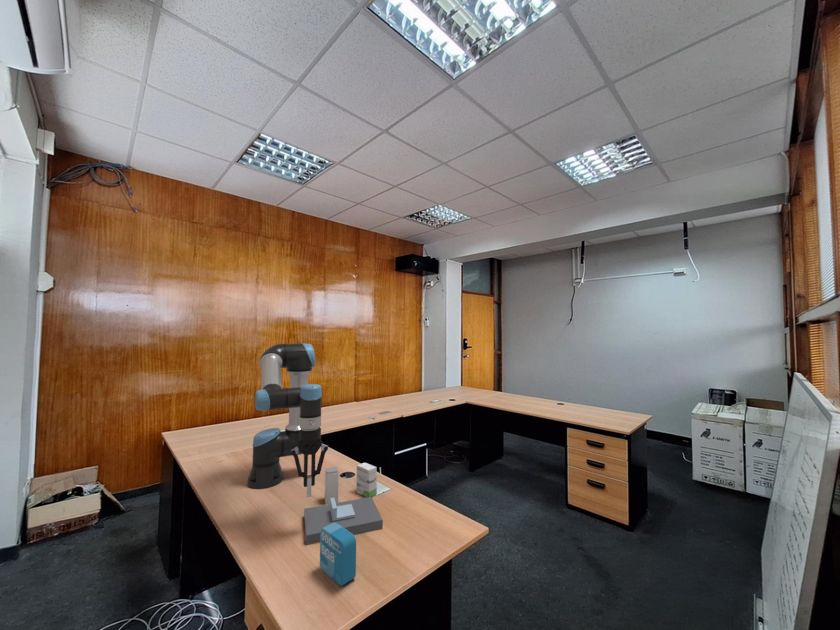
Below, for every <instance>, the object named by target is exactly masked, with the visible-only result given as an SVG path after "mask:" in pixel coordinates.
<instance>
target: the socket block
mask: <svg viewBox="0 0 840 630" xmlns="http://www.w3.org/2000/svg"><path fill="white" fill-rule="evenodd" d="M348 504H352V507H353V510H354V513H355V517H351V518H346V519H341V520H336V521H332V517H331V512H330V504H322V505H319V506H318V505H317V506H312V507H305V508H304V513H303V514H304V515H303V519H304V536H305V545H306V546H308V545H312V544H317V543H320V531H321V529H322V528H323V527H325V526H328V525H330V524H332V523H334V522H336V523H337V524H339V525H340V526H342V527H343V528H345V529H346V530H348V531H349V532H350V533H352V534H353V535H354V536H355V535H359V534H364V533H368V532H373V531H377V530H382V529H383V524H384V523H383V518H382V515H381V514H380V512H379V509H378V508H377V505H376V503H375V501H374V499H373V496H372V497H362V498H356V499H351V500H346V501H338V502H337V503H336V506H342V505H348Z"/></svg>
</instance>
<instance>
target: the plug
mask: <svg viewBox="0 0 840 630" xmlns="http://www.w3.org/2000/svg"><path fill="white" fill-rule="evenodd" d="M339 474H340V472H339V470H338V466H334V467H326V468H325V470H324V503H325V504H324V505H328V504H330V498H335V502H336V503H339V485H340V483H339V480H340V479H339V477H340V476H339Z"/></svg>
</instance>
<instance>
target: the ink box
mask: <svg viewBox="0 0 840 630" xmlns="http://www.w3.org/2000/svg"><path fill="white" fill-rule="evenodd" d="M377 469H378V468H377V466H374V465H373V464H369V463H367V462H363V463H358V464H357V465H356V493H357V494H359V495H362V496H363V497H364V498H367V497H372V498H373V496H376V495H378V494H377V493H378V492H377V491H378V489H377V487H378V486H377V485H378V484H377V482H378V481H377V480H378V479H377V478H378V477H377V476H378V475H377V473H378V471H377Z"/></svg>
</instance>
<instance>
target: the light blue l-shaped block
mask: <svg viewBox="0 0 840 630" xmlns="http://www.w3.org/2000/svg"><path fill="white" fill-rule="evenodd" d="M330 512H331V517H332V521H336V520H341V519H346V518H351V517H355V513H354V510H353V507H352V504H348V505H342V506H336V502H335V498H330Z"/></svg>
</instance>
